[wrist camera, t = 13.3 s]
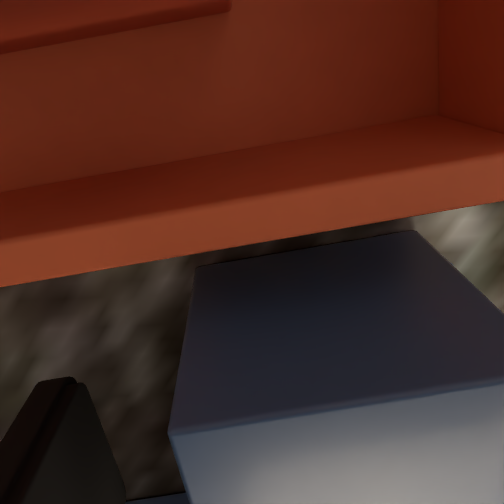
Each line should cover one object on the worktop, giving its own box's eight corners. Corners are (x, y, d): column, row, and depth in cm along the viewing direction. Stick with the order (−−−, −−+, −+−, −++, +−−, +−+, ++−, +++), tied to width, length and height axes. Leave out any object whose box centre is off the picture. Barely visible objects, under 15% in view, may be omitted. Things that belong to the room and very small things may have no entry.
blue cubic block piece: (234, 433, 11) (236, 656, 7) (194, 266, 9) (164, 432, 5) (421, 403, 11) (536, 613, 7) (416, 227, 9) (565, 368, 5)
